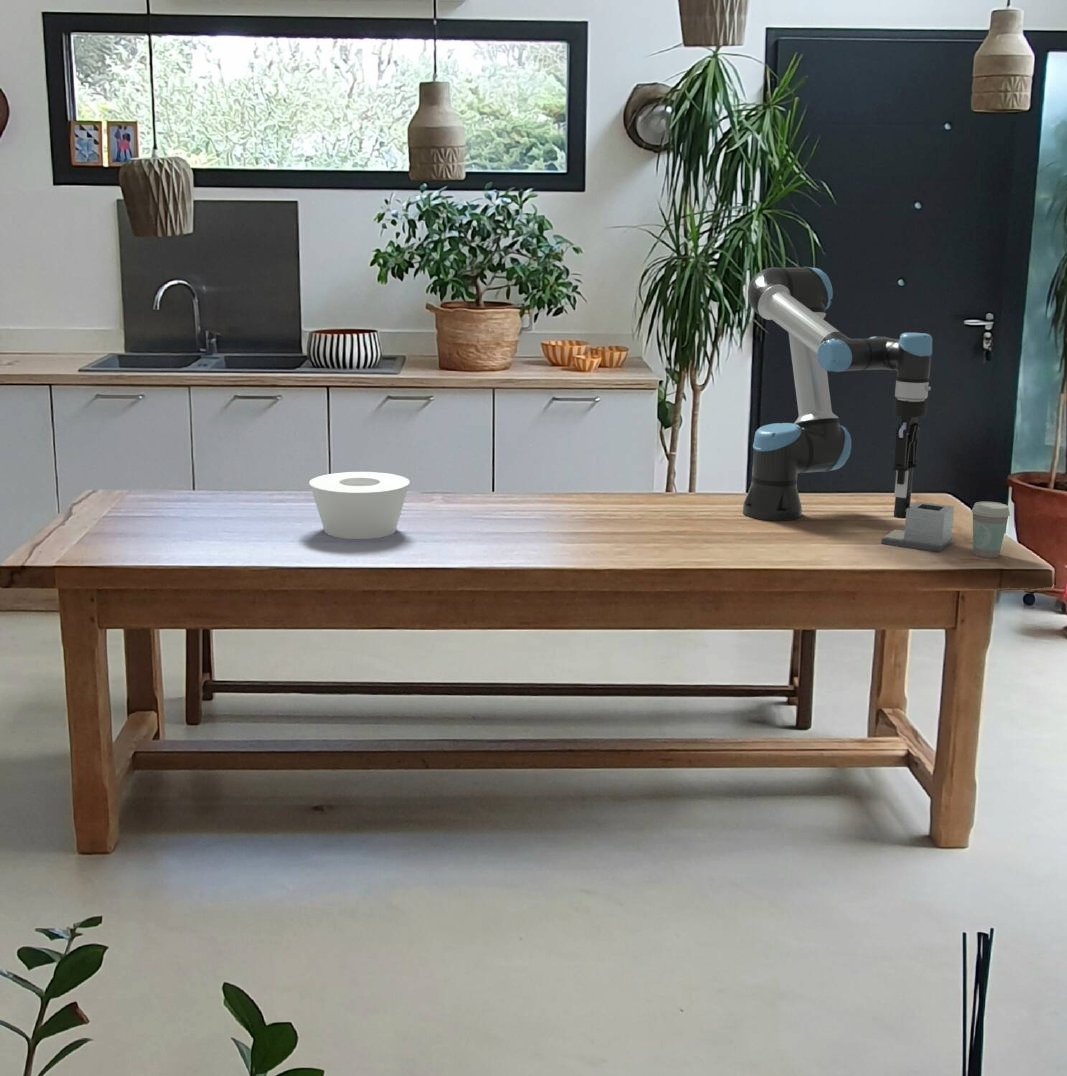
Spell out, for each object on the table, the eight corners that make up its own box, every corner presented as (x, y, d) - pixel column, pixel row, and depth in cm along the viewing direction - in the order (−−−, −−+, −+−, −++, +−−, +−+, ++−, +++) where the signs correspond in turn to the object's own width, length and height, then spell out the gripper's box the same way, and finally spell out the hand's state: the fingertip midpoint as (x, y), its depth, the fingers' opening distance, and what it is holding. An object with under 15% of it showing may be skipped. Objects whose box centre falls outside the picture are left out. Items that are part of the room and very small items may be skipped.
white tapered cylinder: (428, 526, 332) (428, 479, 329) (372, 547, 311) (372, 497, 308) (348, 514, 343) (348, 468, 340) (289, 533, 322) (288, 484, 319)
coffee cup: (961, 550, 320) (966, 500, 317) (996, 550, 321) (1001, 500, 318) (975, 559, 312) (981, 509, 309) (1011, 559, 313) (1017, 509, 310)
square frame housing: (881, 543, 325) (884, 506, 322) (894, 534, 334) (897, 498, 331) (939, 552, 318) (943, 514, 315) (951, 542, 327) (955, 505, 325)
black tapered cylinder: (906, 519, 324) (911, 470, 321) (891, 517, 326) (896, 468, 323) (910, 516, 327) (915, 467, 324) (895, 514, 329) (900, 466, 326)
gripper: (917, 404, 310) (908, 503, 316) (936, 396, 324) (927, 491, 330) (885, 401, 314) (877, 499, 320) (905, 393, 328) (897, 487, 334)
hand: (902, 495), depth 325 cm, fingers closed on black tapered cylinder, 3 cm apart
